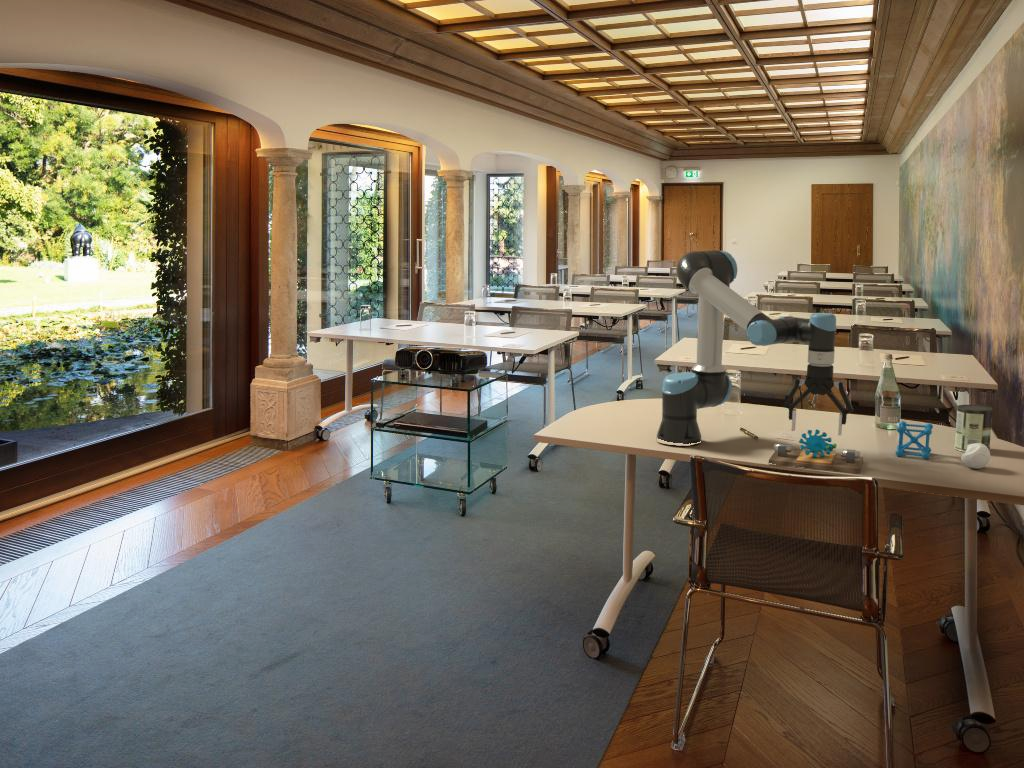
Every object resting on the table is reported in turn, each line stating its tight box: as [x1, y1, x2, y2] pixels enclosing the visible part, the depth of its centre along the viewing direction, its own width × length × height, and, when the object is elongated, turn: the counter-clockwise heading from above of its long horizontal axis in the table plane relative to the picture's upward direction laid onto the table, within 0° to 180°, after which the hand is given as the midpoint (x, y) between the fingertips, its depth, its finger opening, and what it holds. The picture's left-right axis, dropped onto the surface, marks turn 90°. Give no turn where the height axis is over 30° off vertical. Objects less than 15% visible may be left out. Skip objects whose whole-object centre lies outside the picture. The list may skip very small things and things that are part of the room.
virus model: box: [798, 429, 838, 458], centre depth 268 cm, size 11×6×10 cm
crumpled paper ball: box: [960, 443, 991, 470], centre depth 257 cm, size 8×8×8 cm
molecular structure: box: [894, 420, 934, 460], centre depth 273 cm, size 10×10×10 cm
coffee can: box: [954, 404, 994, 453], centre depth 278 cm, size 10×10×14 cm
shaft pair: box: [773, 443, 861, 464], centre depth 265 cm, size 25×4×3 cm, turn 64°
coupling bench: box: [768, 449, 864, 474], centre depth 266 cm, size 26×15×2 cm, turn 64°
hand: (816, 432), depth 264 cm, fingers open, 13 cm apart
